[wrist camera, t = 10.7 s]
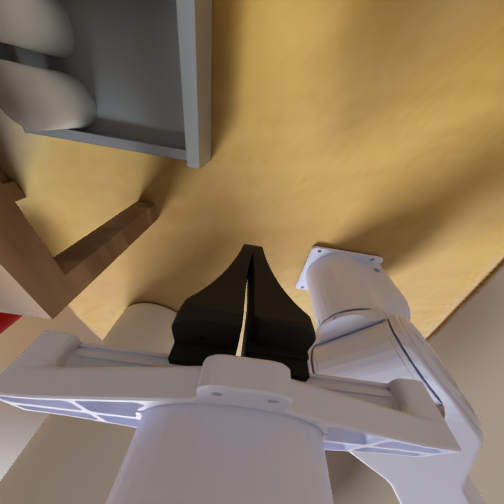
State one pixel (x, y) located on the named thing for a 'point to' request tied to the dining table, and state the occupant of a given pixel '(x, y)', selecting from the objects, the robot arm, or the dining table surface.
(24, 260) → the wooden side table
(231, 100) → the dining table surface
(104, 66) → the tray
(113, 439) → the cylinder vase
